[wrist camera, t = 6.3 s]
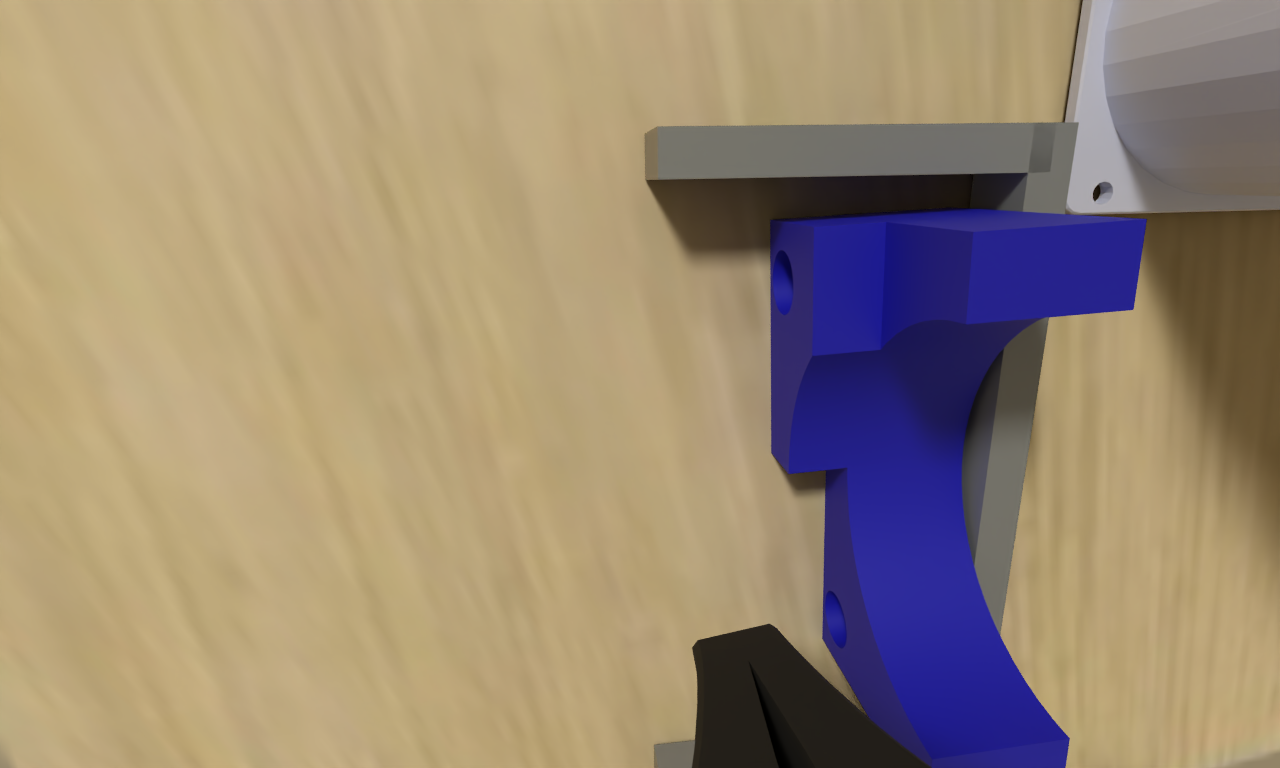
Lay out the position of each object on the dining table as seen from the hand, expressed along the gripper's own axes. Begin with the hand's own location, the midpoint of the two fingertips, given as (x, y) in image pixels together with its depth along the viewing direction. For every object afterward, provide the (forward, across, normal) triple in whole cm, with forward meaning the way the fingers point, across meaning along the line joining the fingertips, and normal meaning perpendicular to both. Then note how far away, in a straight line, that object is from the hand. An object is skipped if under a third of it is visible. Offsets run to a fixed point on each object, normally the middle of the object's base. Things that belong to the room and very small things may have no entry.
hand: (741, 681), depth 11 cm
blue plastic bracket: (+8, -5, 0) cm, 9 cm away
